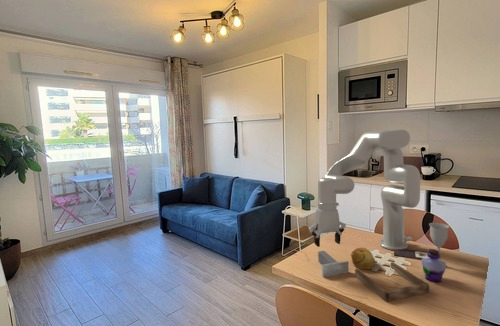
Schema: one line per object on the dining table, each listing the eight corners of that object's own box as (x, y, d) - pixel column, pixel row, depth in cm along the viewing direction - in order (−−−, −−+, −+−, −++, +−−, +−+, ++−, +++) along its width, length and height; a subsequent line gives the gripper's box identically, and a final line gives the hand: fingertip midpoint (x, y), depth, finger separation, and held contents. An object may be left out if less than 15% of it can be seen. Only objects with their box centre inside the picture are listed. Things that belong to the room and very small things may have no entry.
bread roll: (352, 256, 132) (352, 240, 131) (374, 259, 128) (374, 243, 127) (350, 269, 120) (350, 252, 119) (374, 273, 116) (374, 255, 115)
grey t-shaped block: (332, 259, 130) (332, 249, 130) (348, 272, 118) (348, 261, 117) (309, 263, 128) (309, 253, 127) (323, 277, 115) (322, 265, 114)
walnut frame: (393, 268, 118) (393, 262, 118) (429, 292, 101) (429, 284, 100) (355, 276, 114) (355, 269, 114) (385, 301, 97) (385, 293, 96)
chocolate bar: (394, 247, 138) (437, 253, 129) (394, 249, 138) (437, 254, 129) (394, 254, 130) (439, 261, 121) (394, 256, 130) (439, 263, 121)
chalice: (449, 264, 119) (450, 224, 117) (447, 271, 114) (448, 229, 112) (429, 260, 124) (430, 221, 122) (426, 265, 119) (427, 225, 117)
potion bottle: (416, 278, 110) (417, 250, 108) (425, 271, 115) (425, 243, 114) (441, 287, 103) (442, 257, 102) (449, 279, 108) (450, 250, 107)
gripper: (340, 202, 124) (340, 239, 126) (305, 206, 120) (305, 243, 122) (350, 206, 117) (350, 245, 119) (312, 210, 113) (313, 250, 115)
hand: (327, 244), depth 120 cm, fingers open, 9 cm apart
